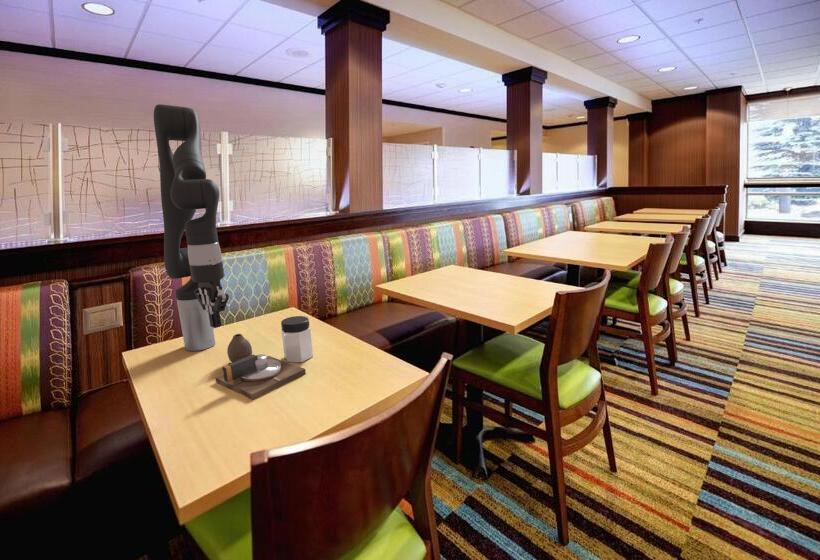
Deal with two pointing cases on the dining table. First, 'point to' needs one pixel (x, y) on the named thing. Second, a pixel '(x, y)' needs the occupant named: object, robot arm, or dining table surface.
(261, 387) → the base
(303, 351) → the jar
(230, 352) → the vase
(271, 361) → the knob
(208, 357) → the dining table surface
